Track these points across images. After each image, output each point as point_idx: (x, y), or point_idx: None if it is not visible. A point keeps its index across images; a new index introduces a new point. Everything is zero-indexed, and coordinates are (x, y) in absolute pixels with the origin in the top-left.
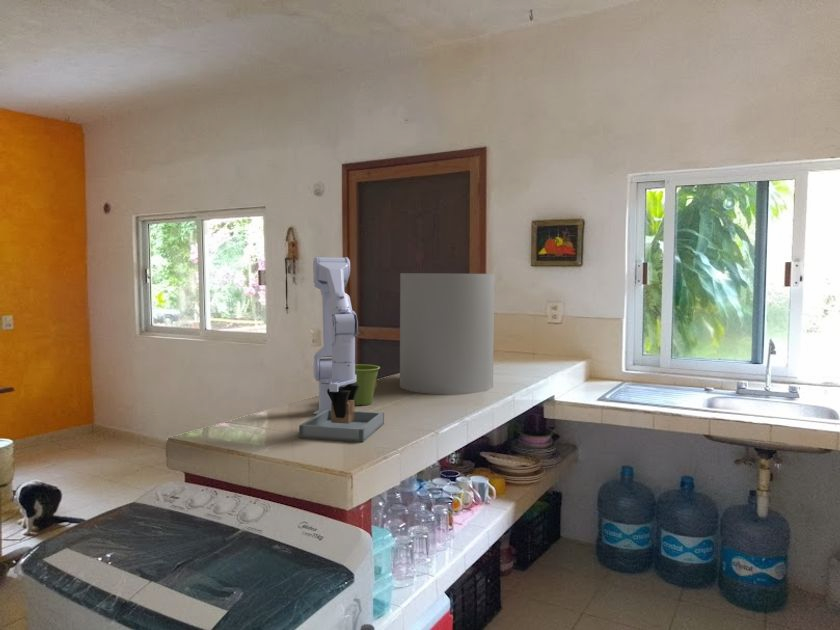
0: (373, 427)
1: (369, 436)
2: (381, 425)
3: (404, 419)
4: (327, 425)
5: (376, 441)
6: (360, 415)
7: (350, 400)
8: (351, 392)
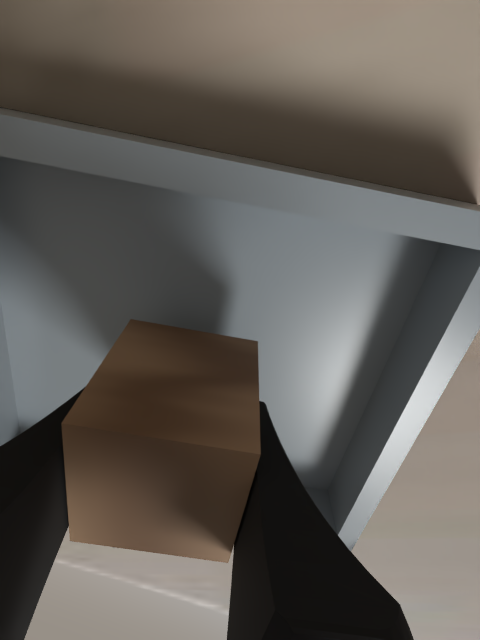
0: None
1: None
2: None
3: (414, 549)
4: (252, 254)
5: None
6: (371, 443)
7: (207, 542)
8: (233, 631)
